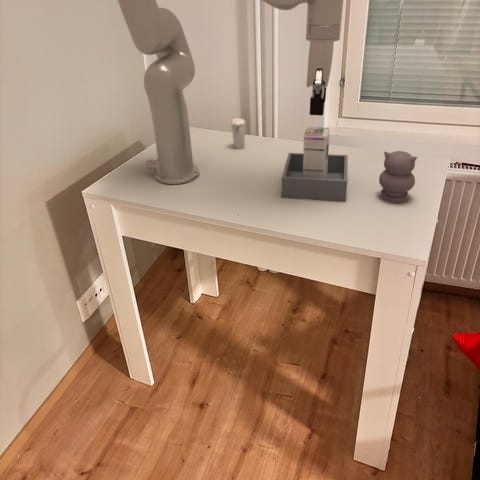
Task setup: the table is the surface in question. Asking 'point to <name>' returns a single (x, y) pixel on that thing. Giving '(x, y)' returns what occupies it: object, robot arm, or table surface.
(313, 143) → the syrup box
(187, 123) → the robot arm
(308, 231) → the table surface
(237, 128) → the milkshake
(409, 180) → the cat figurine
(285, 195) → the bin
